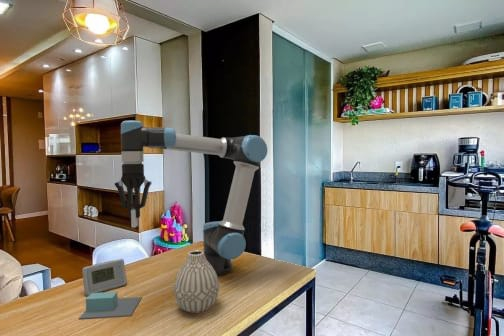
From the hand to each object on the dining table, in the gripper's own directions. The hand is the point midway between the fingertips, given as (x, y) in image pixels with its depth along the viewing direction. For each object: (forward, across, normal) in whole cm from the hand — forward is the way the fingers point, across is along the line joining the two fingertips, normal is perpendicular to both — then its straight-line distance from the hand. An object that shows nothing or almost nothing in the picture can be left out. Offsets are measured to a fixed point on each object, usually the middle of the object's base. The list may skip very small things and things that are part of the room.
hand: (134, 226), depth 111 cm
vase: (+29, -23, +7) cm, 37 cm away
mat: (+28, +8, +4) cm, 30 cm away
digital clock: (+29, +16, -13) cm, 35 cm away
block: (+26, +6, +4) cm, 27 cm away
